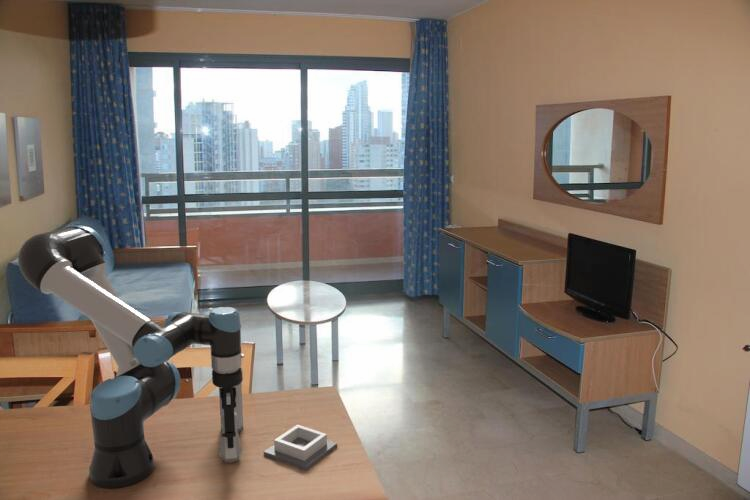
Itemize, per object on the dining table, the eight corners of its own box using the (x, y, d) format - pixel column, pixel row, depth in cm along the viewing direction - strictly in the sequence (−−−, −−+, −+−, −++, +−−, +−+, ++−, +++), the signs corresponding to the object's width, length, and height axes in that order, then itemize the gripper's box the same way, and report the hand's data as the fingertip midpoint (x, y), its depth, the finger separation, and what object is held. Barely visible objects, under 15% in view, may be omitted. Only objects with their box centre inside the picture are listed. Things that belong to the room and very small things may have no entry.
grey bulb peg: (239, 465, 165) (237, 418, 162) (217, 464, 165) (215, 418, 163) (244, 452, 171) (242, 408, 168) (223, 452, 171) (220, 407, 168)
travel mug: (246, 423, 187) (243, 359, 182) (239, 434, 180) (236, 368, 176) (225, 422, 187) (222, 358, 183) (217, 433, 181) (214, 367, 176)
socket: (263, 454, 170) (263, 441, 169) (296, 432, 182) (296, 419, 181) (305, 470, 163) (305, 456, 162) (337, 446, 175) (337, 432, 174)
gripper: (244, 387, 152) (247, 468, 156) (240, 348, 175) (243, 419, 180) (211, 390, 150) (215, 471, 155) (212, 351, 173) (215, 422, 178)
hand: (230, 444), depth 167 cm, fingers open, 13 cm apart
